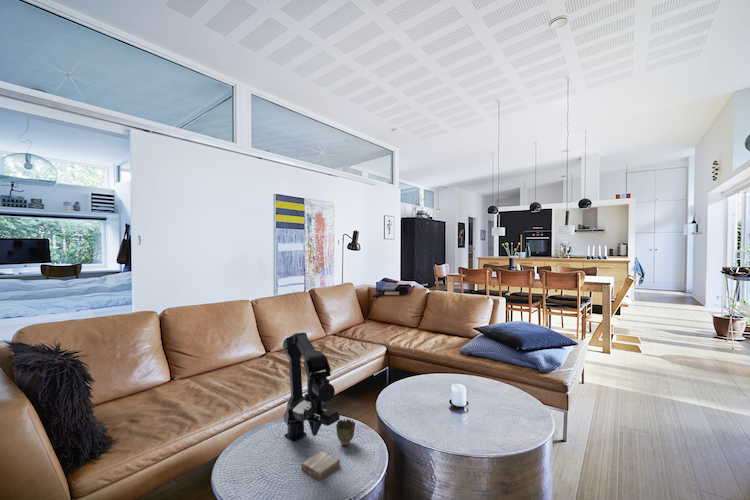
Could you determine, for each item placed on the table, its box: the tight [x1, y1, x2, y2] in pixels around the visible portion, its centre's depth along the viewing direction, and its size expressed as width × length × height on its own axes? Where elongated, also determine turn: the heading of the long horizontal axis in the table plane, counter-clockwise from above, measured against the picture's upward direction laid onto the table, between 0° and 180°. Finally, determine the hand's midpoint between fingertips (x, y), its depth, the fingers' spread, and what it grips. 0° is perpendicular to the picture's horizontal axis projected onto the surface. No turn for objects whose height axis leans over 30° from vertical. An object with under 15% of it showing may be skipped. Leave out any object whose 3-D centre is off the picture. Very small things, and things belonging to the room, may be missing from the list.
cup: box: [335, 418, 356, 447], centre depth 128 cm, size 8×7×8 cm
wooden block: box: [300, 450, 341, 481], centre depth 114 cm, size 3×10×9 cm
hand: (314, 435), depth 116 cm, fingers closed
